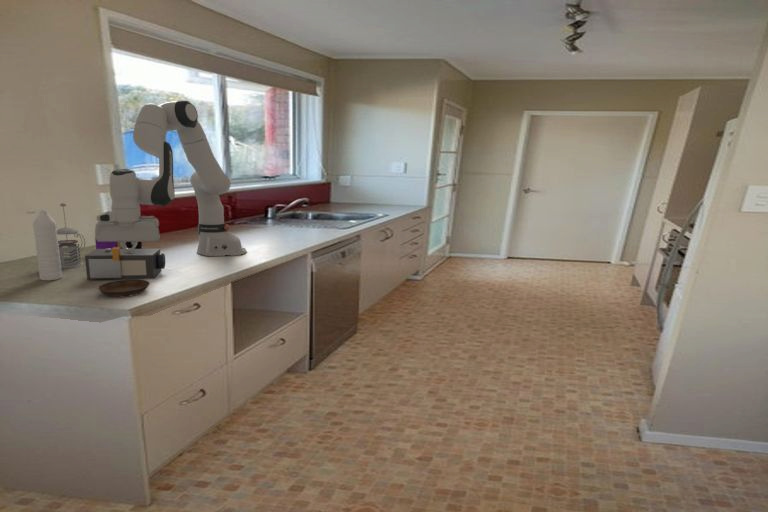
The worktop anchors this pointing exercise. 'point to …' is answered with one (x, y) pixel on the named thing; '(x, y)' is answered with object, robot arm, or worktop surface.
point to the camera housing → (132, 263)
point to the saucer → (123, 287)
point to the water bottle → (46, 246)
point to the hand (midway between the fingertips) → (129, 253)
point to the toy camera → (107, 245)
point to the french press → (69, 247)
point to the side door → (106, 266)
